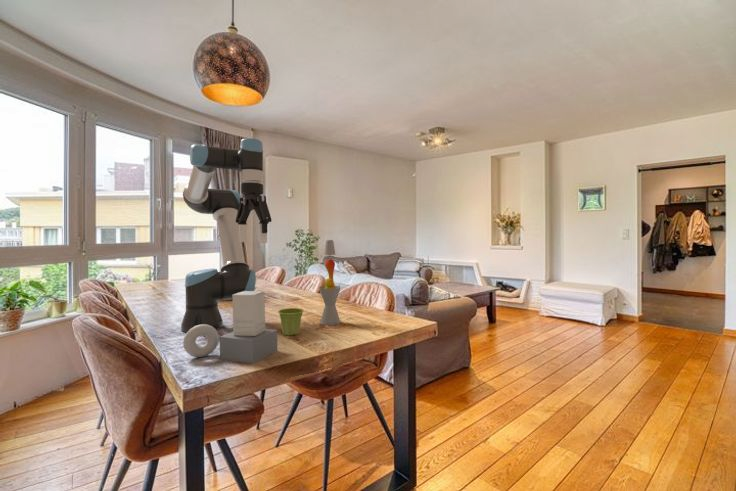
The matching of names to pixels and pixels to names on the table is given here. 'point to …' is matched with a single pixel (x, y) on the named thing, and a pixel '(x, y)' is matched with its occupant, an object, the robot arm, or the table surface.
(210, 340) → the donut
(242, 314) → the supplement box
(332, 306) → the lava lamp
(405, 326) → the table surface
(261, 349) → the slate block
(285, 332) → the plant pot
